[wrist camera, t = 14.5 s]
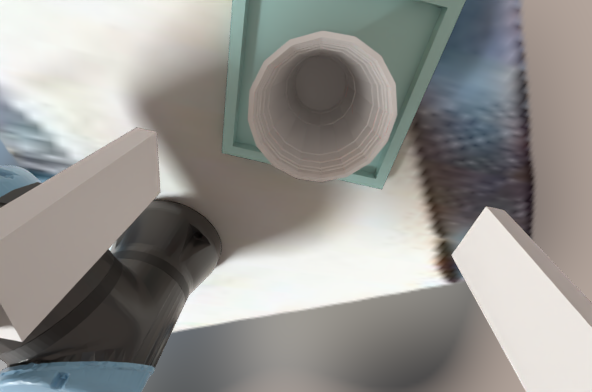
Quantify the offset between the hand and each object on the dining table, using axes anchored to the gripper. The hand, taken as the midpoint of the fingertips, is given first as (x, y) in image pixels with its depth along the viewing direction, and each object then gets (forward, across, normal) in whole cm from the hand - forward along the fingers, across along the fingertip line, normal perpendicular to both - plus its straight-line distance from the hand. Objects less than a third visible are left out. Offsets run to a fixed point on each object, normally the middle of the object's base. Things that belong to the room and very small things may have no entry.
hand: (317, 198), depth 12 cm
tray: (+23, 0, 0) cm, 23 cm away
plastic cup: (+23, 0, 0) cm, 23 cm away
